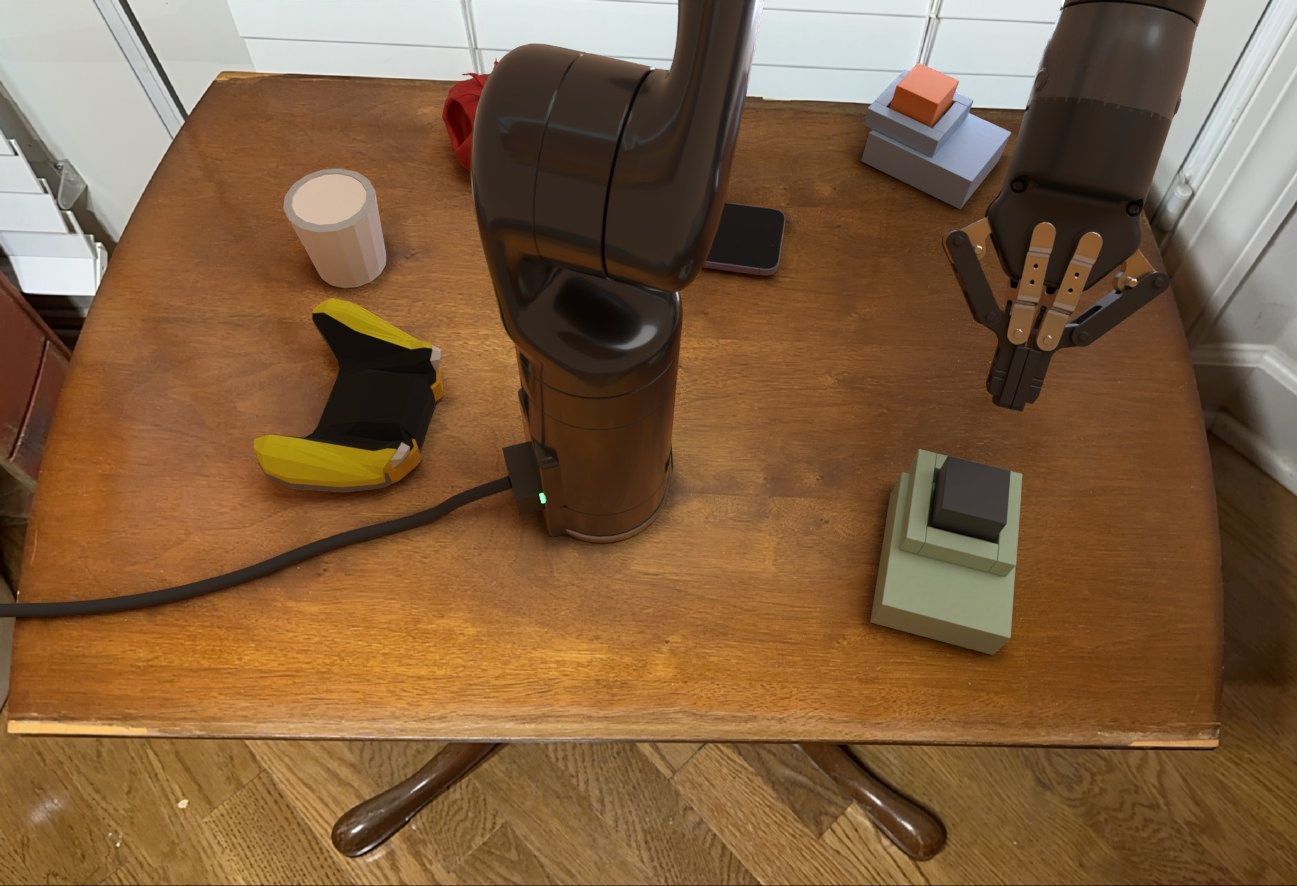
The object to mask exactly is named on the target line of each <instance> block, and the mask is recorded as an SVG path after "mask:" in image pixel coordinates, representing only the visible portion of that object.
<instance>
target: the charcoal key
mask: <svg viewBox="0 0 1297 886" xmlns="http://www.w3.org/2000/svg"><path fill="white" fill-rule="evenodd" d="M946 456H947V458H946V460H945V462H944V463H943V465H942V467H941V468H940V470H939V472H938V473H937V475H936V483H935V491H934V499H933V507H932V515H931V523H930V526H931V527H934V528H938V529H942V530H946V531H950V532H954V533H958V534H962V535H966V536H970V537H974V538H978V539H982V540H986V541H990V542H993V541H994V540H995V538H996V537H997V536H998V534H999V533H1000V532H1001V531H1002V529H1003V528H1004V527H1005V526H1006V524H1007V514H1008V501H1009V488H1010V475H1011V471H1012V470H1010V469H1006V468H1002V467H998V466H994V465H990V464H986V463H982V462H977V461H973V460H970V459H965V458H960V457H957V456H952V455H946Z"/></svg>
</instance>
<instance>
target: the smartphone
mask: <svg viewBox="0 0 1297 886" xmlns="http://www.w3.org/2000/svg"><path fill="white" fill-rule="evenodd" d="M785 226H786V215H785V213H784V212H783V211H782V210H780V209H777V208H772V207H765V206H757V205H749V204H742V203H733V202H726V201H725V205H724V208H723V212H722V216H721V220H720V223H719V227H718V230H717V233H716V236H715V239H714V242H713V245H712V248H711V251H710V253H709V255H708V257H707V259H706V262H705V264H704V266H703V268H706V269H712V270H720V271H726V272H734V273H742V274H750V275H756V276H764V277H765V276H771V275H774V274H775V273H776V272H777V271H778V269H779V266H780V260H781V253H782V246H783V240H784V239H783V238H784V233H785Z"/></svg>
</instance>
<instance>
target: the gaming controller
mask: <svg viewBox="0 0 1297 886" xmlns="http://www.w3.org/2000/svg"><path fill="white" fill-rule="evenodd" d="M311 321H312V322H313V325H314V327H315V328H316V330H317V331H318V333H319V334H320V336H321V338H322V339H323V341H324V342H325V344H326V346H327V348H328V349H329V350H330V352H331V354H332V355H333V357H334V359H335V361H336V363H337V364H338V371H337V377H336V380H335V383H334V385H333V387H332V389H331V392H330V394H329V397H328V398H327V402H326V404H325V407H324V409H323V411H322V414H321V416H320V418H319V421H318V423H317V425H316V427H315V428H314V430H313V431H312V432H311V433H309V434H308V435H306V436H304V437H302V436H294V435H293V436H290V435H282V434H281V435H280V434H271V433H269V434H266V435H262V436H259V437H256V438H254V439H253V448H254V452H255V454H256V458H257V462H258V466H259V468H260V469H261V470H262V472H263V474H264V475H265V477H266V478H267V479H269V480H271V481H273V482H276V483H278V484H280V485H283V486H285V487H288V488H290V489H293V490H304V491H318V492H332V493H350V492H351V493H352V492H361V491H370V490H379V489H383V488H386V487H389V486H390V485H393V484H396V483H397V482H399V481H401V480H402V479H403V478H404V477H406V476H407V475H408V474H409V473H410V472H412V471H413V470H414V469H415V468H416V467H418V465H419V463H421V462H422V461H423V457H422V455H421V448H422V445H423V442H424V439H425V436H426V434H427V430H428V428H429V425H430V422H431V418H432V416H433V412H434V410H435V406H436V403H437V401H439V400H440V399H441V398H442V397H444V384H443V379H442V373H441V367H440V362H441V356H442V350H441V348H440V347H438V346H435V345H433V344H432V343H431V342H430V341H424V340H419V339H418V338H416V337H414V336H413V335H411V334H409V333H407V332H405V331H403V330H401V329H400V328H398V327H397V326H394V325H393V324H391V323H389V322H387V321H385V320H384V319H383V318H381V317H379V316H377V315H376V314H374V313H372V312H371V311H369V310H367V309H366V308H364V307H363V306H361V305H359V304H357V303H354V302H351V301H347V300H342V299H339V298H333V297H330V298H328V299H326V300H325V301H322V302H321V303H319V304H317V306H315V308H314V309H313V310H312V312H311Z"/></svg>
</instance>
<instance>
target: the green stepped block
mask: <svg viewBox="0 0 1297 886" xmlns="http://www.w3.org/2000/svg"><path fill="white" fill-rule="evenodd" d="M947 456H948V455H945V454H941V453H936V452H934V451H929V450H925V449H920V448H919V449H917V451H916V453H915V455H914V458H913V459H912V461H911V465H910V470H909V471H910V472H909V473H907V472H903V471H902V472H901V473H900V475H899V477H898V478H897V481H896V483H895V484H894V487H892V490H891V492H890V494H889V500H888V506H887V513H886V519H885V525H884V532H883V538H882V545H881V551H880V557H879V565H878V570H877V577H876V582H875V589H874V595H873V602H872V609H871V616H870V621H869V622H870V623H871V624H874V625H878V626H882V627H886V628H890V629H892V630H897V631H901V632H905V633H908V634H913V635H916V636H920V637H923V638H927V639H932V640H935V641H938V642H942V643H946V644H950V645H954V646H957V647H961V648H965V649H969V650H972V651H976V652H980V653H983V654H987V655H991V656H994V655H995V654H996V653H997V652H998V651H999V650H1000V649H1001V648H1002V647H1004V645H1005V644H1006V643H1007V642H1008V641H1009V640H1010V639H1011V638H1012V625H1013V624H1012V623H1013V621H1012V620H1013V609H1014V595H1015V579H1016V567H1017V560H1018V547H1019V546H1018V545H1019V532H1020V519H1021V518H1020V516H1021V501H1022V487H1023V474H1022V473H1019V472H1016V471H1012V470H1010V471H1011V475H1010V488H1009V501H1008V514H1007V524H1006V526H1005V527H1004V528H1003V529H1002V531H1001V532H1000V533H999V534H998V536H997V537H996V538H995V540H994V541H993V542H990V541H986V540H982V539H978V538H974V537H970V536H966V535H962V534H958V533H954V532H950V531H946V530H942V529H938V528H934V527H931V526H930V523H931V515H932V507H933V499H934V491H935V483H936V475H937V473H938V472H939V470H940V468H941V467H942V465H943V463H944V462H945V460H946V458H947Z"/></svg>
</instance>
